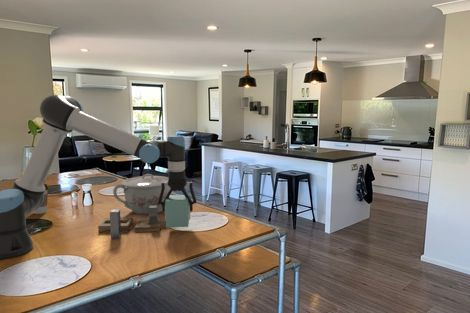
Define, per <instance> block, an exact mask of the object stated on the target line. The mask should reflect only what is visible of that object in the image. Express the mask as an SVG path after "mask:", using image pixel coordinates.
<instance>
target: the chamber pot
mask: <svg viewBox="0 0 470 313" xmlns="http://www.w3.org/2000/svg"><path fill="white" fill-rule="evenodd" d="M162 182H168V176H164V175H163V176H161V175H153V174H151V173H145V174H143V175H141V176H134V177H129V178H127V179H124V180H122V181H121V184H120V183H117V184H116V185H115V186H114V188H113V190H112V194H113V197H114V198H115V199H116V200H117V201H118V202H120V203H121V204H124V205H125V206H126V207H127V208H128V209H130V210H131V211H132V212H133V213H134V214H138V215H144V216H146V215H148V216H149V207H150V206H157V210H158V213H161V212H163V211H162V205H161V204H158V201H159V197H160V193H161V189H162V186H161V184H162ZM118 189H123V194H124V199H122V198H120V197H119V195H118V194H117V193H118V192H117V190H118ZM170 189H171V188H170V187H169V186H168V185H167V186H166V187H165V190H164V194H163V198H162V201H164V200H165V198H166V196H167V194H168V192H169V190H170ZM170 195H172V193H171V194H170Z"/></svg>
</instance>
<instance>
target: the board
mask: <svg viewBox="0 0 470 313" xmlns="http://www.w3.org/2000/svg"><path fill="white" fill-rule="evenodd" d="M158 217H159V216H158V210H157V206H150V207H149V215H148V219H146V218H145V219H139V220H138V222H137V223H136V225H135V226H134V232H136V233H137V232H141V233H142V232H160V230H161V228H162V225H163V221H164V220H163V218H161V219H159V218H158Z"/></svg>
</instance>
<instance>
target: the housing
mask: <svg viewBox="0 0 470 313" xmlns="http://www.w3.org/2000/svg"><path fill="white" fill-rule="evenodd" d="M188 204H189V202H188V198H186V197H185V196H184V194H171V195H170V196H169V198H168V199H166V200H165V212H166V220H165V228H188V227H189V224H190V219H188ZM165 212H164V213H165Z"/></svg>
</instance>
